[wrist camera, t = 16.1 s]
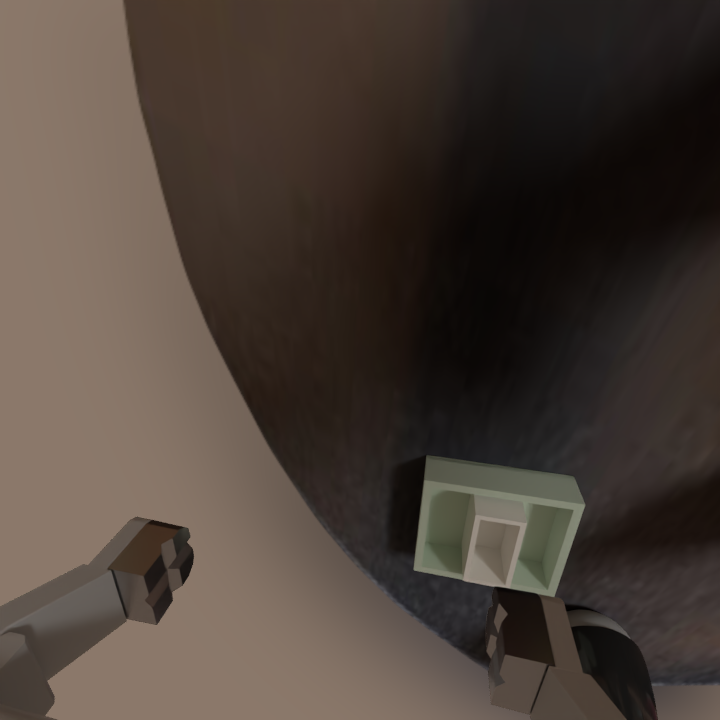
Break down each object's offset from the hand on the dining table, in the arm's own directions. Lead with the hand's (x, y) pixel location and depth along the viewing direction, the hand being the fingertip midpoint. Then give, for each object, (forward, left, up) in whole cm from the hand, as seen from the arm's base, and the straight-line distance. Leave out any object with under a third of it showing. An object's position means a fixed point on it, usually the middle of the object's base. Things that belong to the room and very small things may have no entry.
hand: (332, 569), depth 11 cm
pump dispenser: (-23, +39, -29) cm, 54 cm away
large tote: (-10, +24, -29) cm, 39 cm away
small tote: (-10, +24, -28) cm, 39 cm away
